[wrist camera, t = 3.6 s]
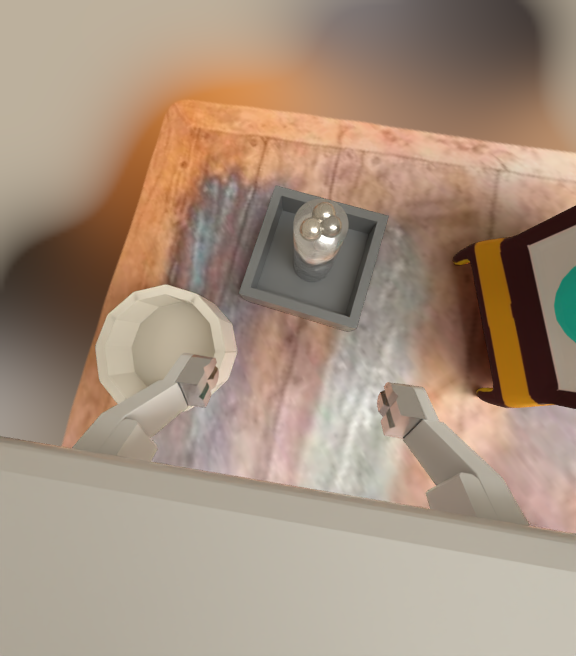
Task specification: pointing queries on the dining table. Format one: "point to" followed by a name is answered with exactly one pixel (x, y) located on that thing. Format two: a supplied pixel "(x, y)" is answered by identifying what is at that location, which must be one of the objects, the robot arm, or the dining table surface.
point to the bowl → (160, 339)
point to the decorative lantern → (529, 313)
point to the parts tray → (321, 296)
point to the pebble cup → (318, 238)
